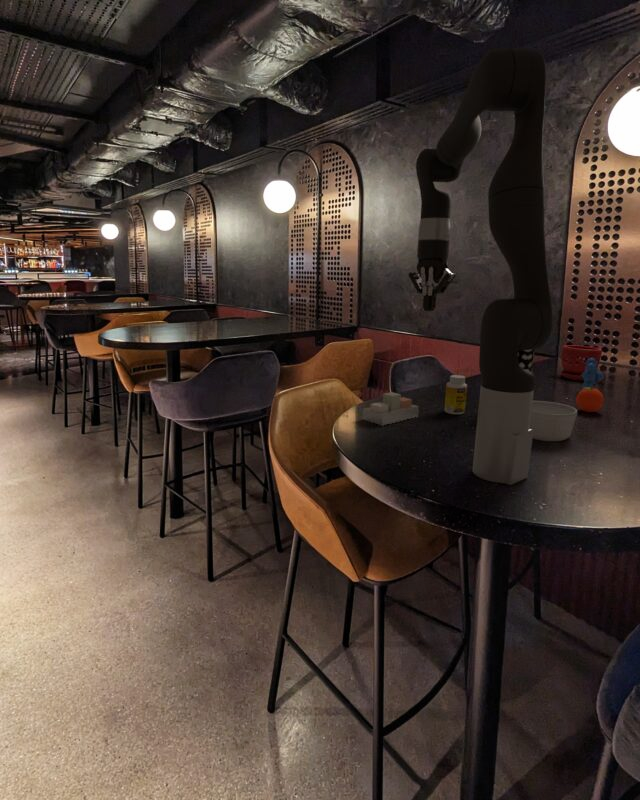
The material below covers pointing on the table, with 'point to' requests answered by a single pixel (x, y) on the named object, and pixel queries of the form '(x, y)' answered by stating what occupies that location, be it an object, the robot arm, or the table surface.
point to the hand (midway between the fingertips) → (428, 310)
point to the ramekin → (551, 420)
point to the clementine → (589, 399)
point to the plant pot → (577, 360)
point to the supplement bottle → (455, 395)
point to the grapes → (591, 374)
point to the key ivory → (379, 407)
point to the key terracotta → (405, 402)
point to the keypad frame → (390, 415)
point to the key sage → (392, 400)
